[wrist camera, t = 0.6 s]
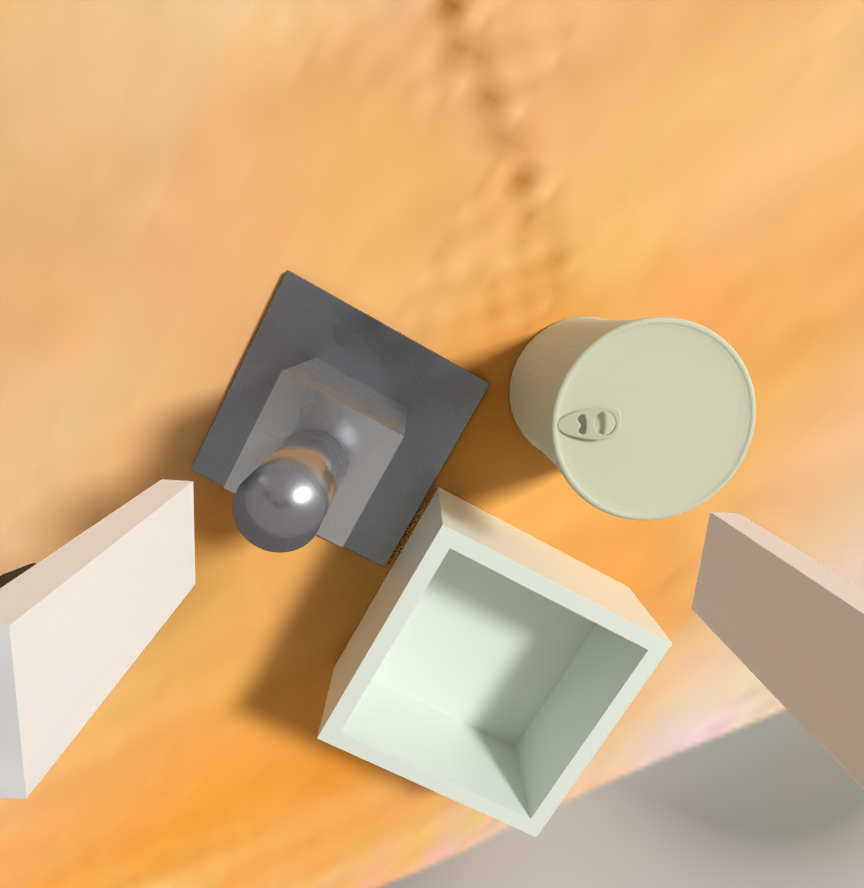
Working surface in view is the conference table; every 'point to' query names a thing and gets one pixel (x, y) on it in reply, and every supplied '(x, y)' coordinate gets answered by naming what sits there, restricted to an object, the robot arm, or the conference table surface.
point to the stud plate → (374, 364)
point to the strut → (313, 458)
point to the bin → (489, 666)
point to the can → (636, 411)
